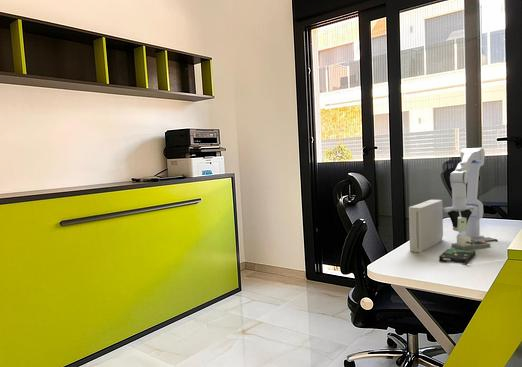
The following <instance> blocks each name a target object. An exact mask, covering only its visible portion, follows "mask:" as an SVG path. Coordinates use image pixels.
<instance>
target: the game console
mask: <svg viewBox="0 0 522 367" xmlns="http://www.w3.org/2000/svg"><path fill="white" fill-rule="evenodd" d="M443 208H444V207H443V199H429V200H426V201H423V202H421V203H418V204H415V205H411V206H408V227H409V228H408V230H409V231H408V232H409V251H410V252H414V253H420V254H422V253H423V252H424V251H426V250H428V249H429V248H431V247H433V246H434V245H436V244H438V243H440V242H441V241H443V237H444V220H443V219H444V217H443V216H444V214H443V213H444V210H443Z"/></svg>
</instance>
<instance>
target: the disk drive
mask: <svg viewBox="0 0 522 367" xmlns="http://www.w3.org/2000/svg"><path fill="white" fill-rule="evenodd" d="M475 256H476V250H472V249H471V250H459V249H456V248H448V249H447V250H446V251H444V252H443V253H442V254H440V255H439V256H438V261H439V262H441V263H448V264H449V263H456V264H457V263H458V264H459V263H460V264H462V265H463V266H467V265H468V264H469V262H470V261H471V260H472V259H473V258H474V257H475Z"/></svg>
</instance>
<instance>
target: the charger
mask: <svg viewBox="0 0 522 367" xmlns="http://www.w3.org/2000/svg"><path fill="white" fill-rule="evenodd" d="M452 230H453V231H454V232H458V233H459V232H461V231H467V224H466V218H464V217H461V216H458V219H457V227H453V226H452Z"/></svg>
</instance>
